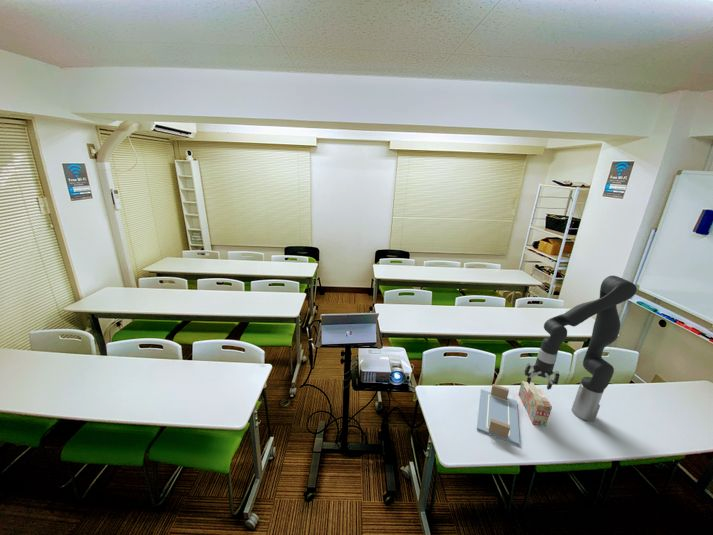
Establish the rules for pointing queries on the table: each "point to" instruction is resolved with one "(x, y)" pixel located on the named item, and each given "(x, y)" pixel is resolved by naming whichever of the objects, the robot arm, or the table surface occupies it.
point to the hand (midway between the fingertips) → (538, 385)
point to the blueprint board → (498, 414)
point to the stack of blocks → (535, 403)
